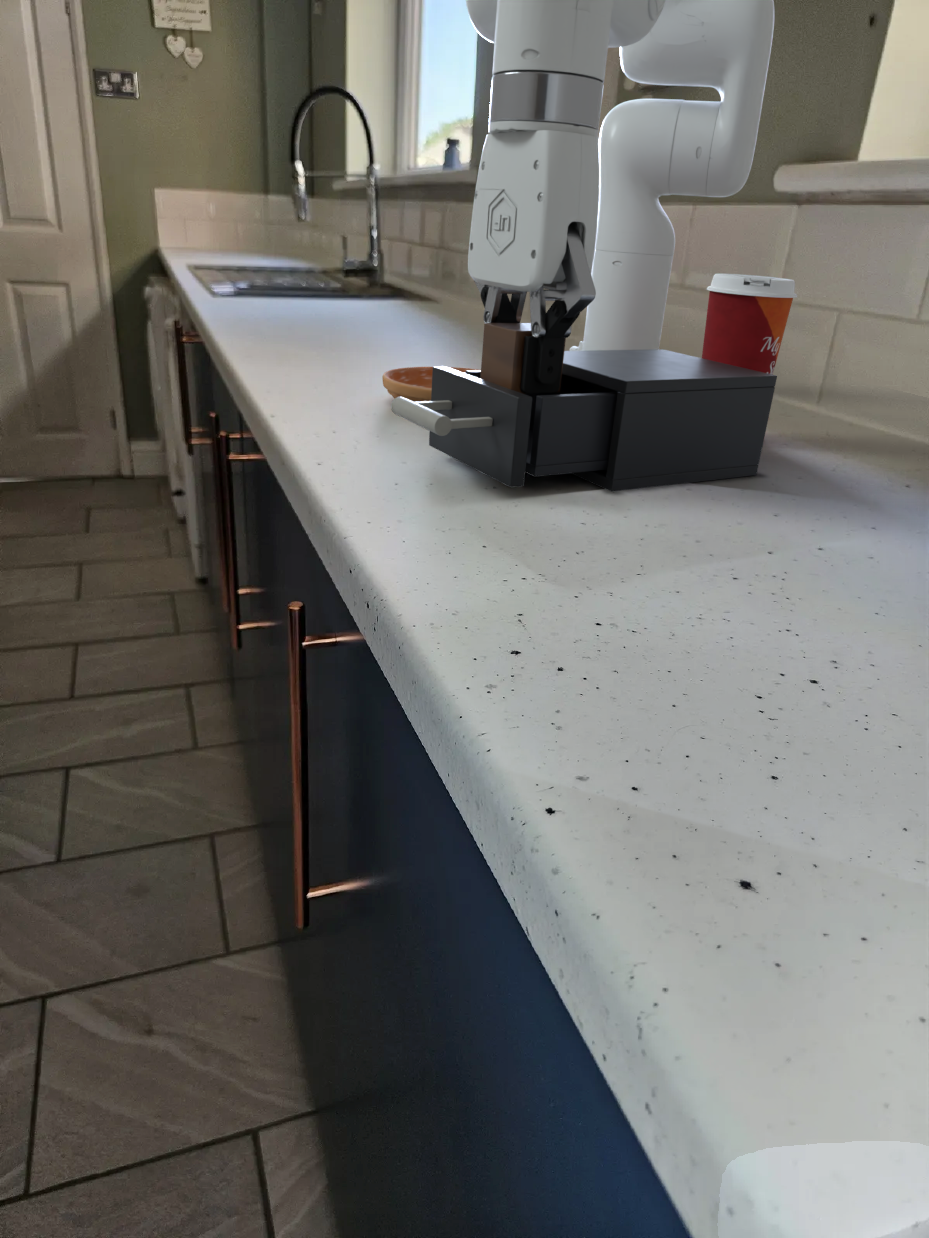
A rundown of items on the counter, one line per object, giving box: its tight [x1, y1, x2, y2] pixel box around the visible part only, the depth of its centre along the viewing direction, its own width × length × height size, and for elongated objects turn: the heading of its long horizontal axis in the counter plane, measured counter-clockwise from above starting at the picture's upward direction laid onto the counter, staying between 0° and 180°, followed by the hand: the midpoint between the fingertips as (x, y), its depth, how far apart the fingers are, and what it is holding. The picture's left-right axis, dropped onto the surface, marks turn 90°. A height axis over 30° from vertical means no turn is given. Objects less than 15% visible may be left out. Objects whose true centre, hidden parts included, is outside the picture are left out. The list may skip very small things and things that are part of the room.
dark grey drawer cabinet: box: [562, 348, 778, 492], centre depth 74 cm, size 16×14×8 cm
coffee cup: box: [701, 273, 798, 375], centre depth 84 cm, size 8×8×15 cm
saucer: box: [381, 366, 481, 402], centre depth 92 cm, size 16×16×3 cm
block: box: [480, 322, 567, 394], centre depth 66 cm, size 4×4×4 cm
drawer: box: [390, 365, 619, 488], centre depth 68 cm, size 20×13×6 cm, turn 120°
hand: (520, 383), depth 67 cm, fingers closed on block, 4 cm apart
